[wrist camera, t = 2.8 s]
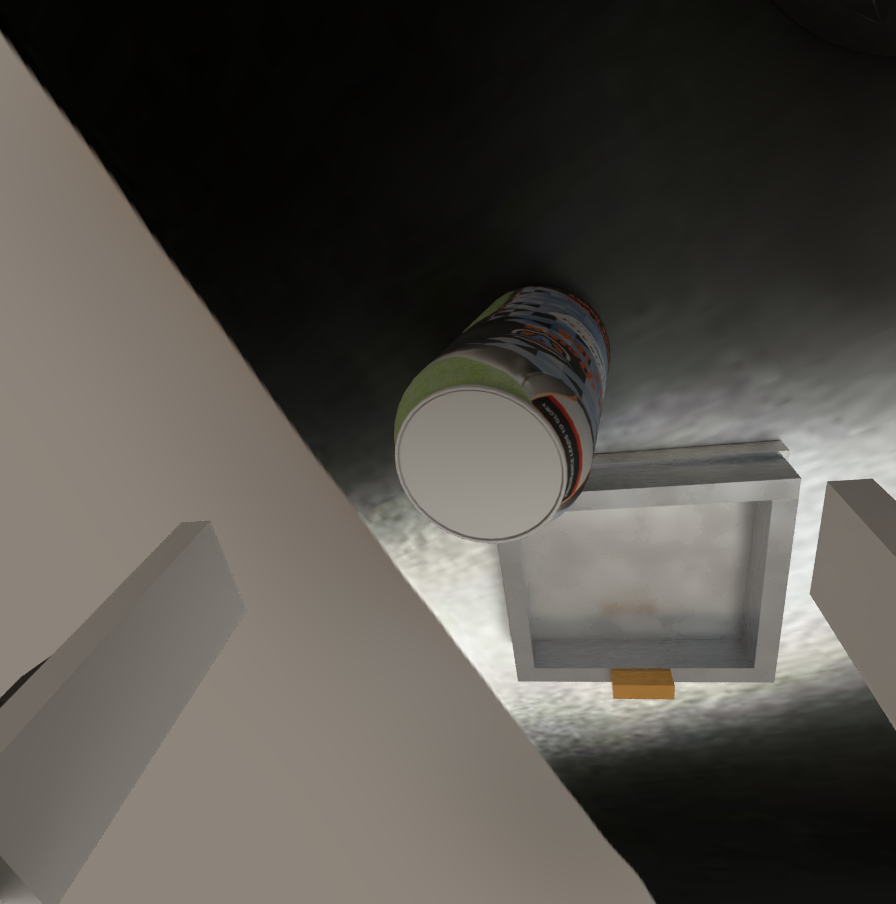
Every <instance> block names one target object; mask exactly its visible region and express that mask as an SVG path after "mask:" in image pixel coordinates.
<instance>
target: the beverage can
mask: <svg viewBox="0 0 896 904" xmlns="http://www.w3.org/2000/svg"><path fill="white" fill-rule="evenodd" d="M609 363H610V345H609V339H608V335H607V333H606V330H605V327H604V325H603V323H602V321H601V320H600V318H599V316H598V315H597V313H596V312H595V311H594V310H593V309H592V308H591V306H590V305H589V304H587V303H586V302H585V301H584V300H582V299H581V298H580V297H578V296H576V295H575V294H573V293H571V292H569V291H567V290H564V289H561V288H558V287H553V286H546V285H535V286H527V287H522V288H518V289H516V290H513V291H511V292H508V293H506V294H505V295H503V296H502V297H500V298H499V299H497V300H496V301H495V302H494V303H493V304H492V305H491V306H490V307H488V308H487V309H486V310H485V311H484V312H483V313H482V314H481V315H480V316H479V317H478V318H477V319H476V320H475V321H474V322H473V323H472V324H471V325H470V326H469V327H467V328H466V329H465V330H464V331H463V332H462V333H461V334H460V335H459V336H458V337H457V338H456V339H455V340H454V341H453V342H452V343H451V344H450V345H449V346H448V347H447V348H445V349H444V350H443V351H442V352H441V353H440V354H439V355H438V356H437V357H436V358H435V359H434V360H433V361H432V362H431V363H430V364H429V365H428V366H427V367H426V368H424V369H423V370H422V371H421V372H420V373H419V374H418V375H417V376H416V377H415V378H414V380H413V381H412V382H411V384H410V385H409V387H408V388H407V390H406V391H405V393H404V395H403V397H402V400H401V402H400V404H399V407H398V411H397V415H396V420H395V432H394V441H395V462H396V468H397V473H398V476H399V479H400V482H401V485H402V487H403V489H404V491H405V493H406V494H407V496H408V498H409V499H410V500H411V502H412V503H413V505H414V506H415V507H416V508H417V509H418V510H419V511H420V512H421V513H422V515H423V516H424V517H425V518H427V519H428V520H429V521H431V522H432V523H433V524H435V525H436V526H437V527H439V528H441V529H443V530H444V531H446V532H448V533H450V534H452V535H455V536H457V537H460V538H462V539H466V540H470V541H474V542H482V543H504V542H509V541H514V540H518V539H521V538H523V537H526V536H528V535H530V534H532V533H534V532H535V531H537V530H538V529H540V528H541V527H543V526H545V525H547V524H549V523H550V522H552V521H553V520H555V519H557V518H558V517H560V516H561V515H562V514H563V513H564V512H565V511H566V510H567V509H569V508H570V507H571V506H572V505H573V503H574V502H575V501H576V499H577V498H578V497H579V495H580V494H581V492H582V491H583V489H584V487H585V484H586V482H587V480H588V478H589V475H590V471H591V466H592V462H593V457H594V451H595V445H596V439H597V434H598V428H599V422H600V416H601V410H602V404H603V399H604V393H605V387H606V381H607V375H608V369H609Z"/></svg>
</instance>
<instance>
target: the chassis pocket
mask: <svg viewBox="0 0 896 904" xmlns="http://www.w3.org/2000/svg"><path fill="white" fill-rule="evenodd" d="M789 452H790V450H789V449H788V448H787V447H786V446H785V444H784V443H783V442H782V441H768V442H755V443H741V444H728V445H715V446H701V447H688V448H674V449H661V450H648V451H634V452H621V453H607V454H594V457H593V462H592V466H591V471H590V475H589V478H588V480H587V482H586V484H585V487H584V489H583V491H582V492H581V494H580V495H579V497H578V498H577V499H576V501H575V502H574V503H573V505H572V506H571V507H570V508H569V509H567V510H566V511H565V512H564V513H563V514H562V515H561V516H560V517H558V518H557V519H555V520H553V521H552V522H550V523H549V524H547V525H545V526H543V527H541V528H540V529H538V530H537V531H535V532H534V533H532V534H530V535H528V536H526V537H523V538H521V539H518V540H514V541H509V542H504V543H498V550H499V556H500V563H501V570H502V576H503V583H504V590H505V597H506V603H507V610H508V617H509V623H510V630H511V637H512V644H513V650H514V657H515V664H516V670H517V677H518V681H557V682H611V683H612V691H613V698H614V699H674V692H675V685H674V682H774V680H775V672H776V665H777V657H778V650H779V642H780V635H781V627H782V619H783V612H784V604H785V597H786V589H787V581H788V574H789V566H790V559H791V551H792V544H793V536H794V528H795V521H796V513H797V506H798V498H799V490H800V483H801V477H800V476H799V475H798V474H797V473H796V471H795V470H794V469H793V468H792V466H791V465H790V464H789V463H788V460H789Z"/></svg>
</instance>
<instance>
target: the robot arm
mask: <svg viewBox="0 0 896 904" xmlns="http://www.w3.org/2000/svg"><path fill="white" fill-rule="evenodd" d="M772 1H773V2H774V3H775V4H776V5H777V6H778V7H779V8H780V9H781V10H782V11H783V12H784V13H785V14H786V15H787V16H789V17H790V18H791V19H792V20H794V21H795V22H796V23H797V24H798V25H800V26H801V27H803V28H804V29H806V30H808V31H809V32H811V33H812V34H814V35H816V36H818V37H820V38H822V39H824V40H826V41H828V42H830V43H833V44H835V45H838V46H840V47H843V48H846V49H850V50H853V51H857V52H862V53H867V54H872V55H880V56H891V57H896V0H772ZM810 595H811V597H812V598H813V600H814V601H815V603H816V605H817V606H818V608H819V609H820V611H821V612H822V614H823V616H824V617H825V619H826V620H827V622H828V624H829V625H830V627H831V628H832V630H833V631H834V633H835V635H836V636H837V638H838V639H839V641H840V643H841V644H842V646H843V647H844V649H845V651H846V652H847V654H848V655H849V657H850V658H851V660H852V662H853V663H854V665H855V666H856V668H857V670H858V671H859V673H860V674H861V676H862V677H863V679H864V681H865V682H866V684H867V685H868V687H869V689H870V690H871V692H872V693H873V695H874V697H875V698H876V700H877V701H878V703H879V704H880V706H881V708H882V709H883V711H884V712H885V714H886V716H887V717H888V719H889V720H890V722H891V723H892V725H893V727H894V728H895V730H896V501H895V500H894V499H893V498H892V497H891V496H890V495H889V494H888V493H887V492H886V491H885V490H884V489H883V488H882V487H881V486H880V485H879V484H877V483H876V482H875V481H874V480H873V479H860V480H845V481H829V482H827V486H826V493H825V499H824V506H823V512H822V519H821V525H820V532H819V538H818V545H817V551H816V558H815V564H814V570H813V577H812V583H811V590H810ZM246 611H247V609H246V606H245V605H244V602H243V599H242V597H241V594H240V592H239V589H238V587H237V585H236V582H235V580H234V577H233V575H232V573H231V570H230V568H229V565H228V563H227V560H226V558H225V555H224V553H223V551H222V548H221V546H220V543H219V541H218V539H217V536H216V534H215V531H214V529H213V526H212V524H211V522H210V521H199V522H183V523H181V524H180V525H179V526H178V527H177V528H176V529H175V530H174V531H173V532H172V533H171V534H170V535H169V536H168V537H167V538H166V539H165V540H164V541H163V542H162V543H161V544H160V545H159V546H158V547H157V548H156V549H155V550H154V551H153V552H152V553H151V554H150V556H148V557H147V558H146V559H145V560H144V562H142V564H141V565H140V566H139V567H138V568H137V569H136V570H135V571H134V572H133V573H132V574H131V575H130V576H129V577H128V578H127V579H126V580H125V581H124V582H123V583H122V584H121V585H120V586H119V587H118V588H117V589H116V590H115V591H114V592H113V593H112V594H111V595H110V596H109V597H108V598H107V599H106V600H105V601H104V603H102V605H100V607H99V608H98V609H97V610H96V611H95V612H94V613H93V614H92V615H91V616H90V617H89V618H88V619H87V620H86V621H85V622H84V623H83V624H82V625H81V626H80V627H79V628H78V629H77V630H76V631H75V632H74V633H73V634H72V635H71V636H70V637H69V638H68V639H67V641H66V642H64V643H63V645H61V646H60V647H59V648H58V650H57V651H56V652H55V653H54V654H53V655H52V656H50V657H49V658H48V659H46V660H44V661H43V662H42V663H40V664H39V665H37V666H36V667H35V668H33V669H32V670H30V671H29V672H28V673H26V674H25V675H23V676H22V677H21V678H20V679H19V680H18V681H17V682H16V683H15V684H14V685H13V686H12V687H11V688H10V689H9V690H8V691H7V692H6V693H5V694H4V695H3V696H2V697H1V698H0V899H1V900H2V901H3V903H4V904H59V903H60V901H61V899H62V898H63V896H64V894H65V893H66V892H67V890H68V888H69V887H70V885H71V884H72V882H73V881H74V879H75V878H76V876H77V874H78V873H79V871H80V870H81V868H82V867H83V865H84V863H85V862H86V860H87V859H88V857H89V856H90V854H91V853H92V851H93V849H94V848H95V846H96V845H97V843H98V842H99V840H100V839H101V837H102V835H103V834H104V832H105V831H106V829H107V828H108V826H109V825H110V823H111V821H112V820H113V818H114V817H115V815H116V813H117V812H118V810H119V809H120V807H121V806H122V804H123V803H124V801H125V799H126V798H127V796H128V795H129V793H130V792H131V790H132V789H133V787H134V785H135V784H136V782H137V781H138V779H139V778H140V776H141V775H142V773H143V772H144V770H145V768H146V767H147V765H148V764H149V762H150V761H151V759H152V757H153V756H154V754H155V753H156V751H157V750H158V748H159V747H160V745H161V743H162V742H163V740H164V739H165V737H166V735H167V734H168V733H169V731H170V729H171V728H172V726H173V725H174V723H175V722H176V720H177V718H178V717H179V715H180V714H181V712H182V711H183V709H184V708H185V706H186V704H187V703H188V701H189V700H190V698H191V697H192V695H193V693H194V692H195V690H196V689H197V687H198V686H199V684H200V683H201V681H202V679H203V678H204V676H205V675H206V673H207V672H208V670H209V669H210V667H211V665H212V664H213V662H214V661H215V659H216V658H217V656H218V655H219V653H220V651H221V650H222V648H223V647H224V645H225V644H226V642H227V641H228V639H229V637H230V636H231V634H232V633H233V631H234V630H235V628H236V626H237V625H238V623H239V622H240V620H241V619H242V617H243V615H244V614H245V612H246Z"/></svg>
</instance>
